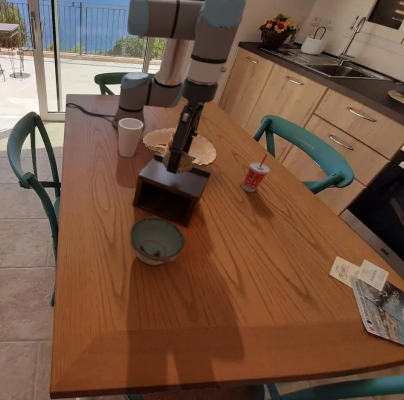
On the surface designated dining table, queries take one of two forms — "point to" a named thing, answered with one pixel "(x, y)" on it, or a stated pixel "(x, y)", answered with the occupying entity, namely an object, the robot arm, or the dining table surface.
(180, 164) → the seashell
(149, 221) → the bowl
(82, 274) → the dining table surface
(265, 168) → the beverage cup
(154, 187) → the shelf
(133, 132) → the foam cup
